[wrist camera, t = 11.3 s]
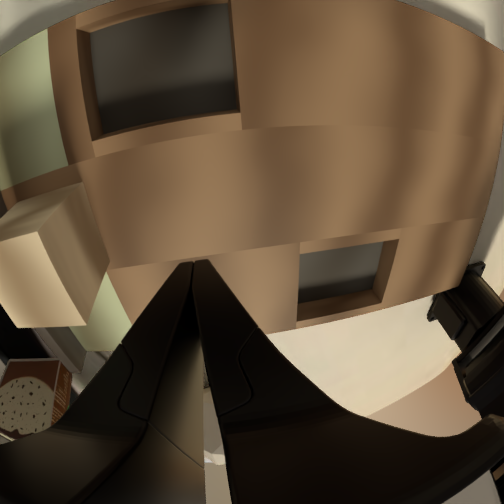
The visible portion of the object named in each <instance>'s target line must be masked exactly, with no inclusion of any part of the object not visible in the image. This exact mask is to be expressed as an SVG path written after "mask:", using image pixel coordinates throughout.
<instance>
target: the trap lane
mask: <svg viewBox="0 0 504 504" xmlns="http://www.w3.org/2000/svg"><path fill="white" fill-rule="evenodd" d="M503 121H504V52H503V51H502V50H500V49H499V48H497V47H495V46H494V45H492V44H491V43H489V42H487V41H486V40H484V39H482V38H481V37H479V36H477V35H475V34H473V33H472V32H470V31H468V30H466V29H464V28H462V27H460V26H458V25H456V24H454V23H452V22H450V21H448V20H445V19H443V18H441V17H439V16H436V15H434V14H432V13H429V12H427V11H424V10H422V9H419V8H416V7H414V6H411V5H408V4H405V3H402V2H399V1H396V0H115V1H112V2H109V3H106V4H103V5H100V6H97V7H95V8H92V9H89V10H87V11H84V12H82V13H79V14H77V15H75V16H72V17H70V18H68V19H65V20H63V21H61V22H59V23H57V24H55V25H53V26H51V27H49V28H47V29H45V30H43V31H41V32H39V33H37V34H36V35H34V36H32V37H30V38H28V39H27V40H25V41H23V42H22V43H20V44H18V45H17V46H15V47H14V48H12V49H10V50H9V51H7V52H6V53H4V54H3V55H1V56H0V219H1V218H2V217H3V216H4V215H5V214H6V213H7V212H8V211H9V210H10V209H11V208H12V207H13V206H14V205H15V204H16V203H17V202H20V201H23V200H26V199H29V198H32V197H34V196H37V195H41V194H44V193H47V192H50V191H53V190H56V189H60V188H63V187H66V186H70V185H73V184H77V183H80V182H83V184H84V188H85V191H86V194H87V198H88V201H89V204H90V207H91V210H92V213H93V216H94V219H95V222H96V225H97V227H98V230H99V233H100V236H101V238H102V241H103V244H104V246H105V249H106V252H107V254H108V257H109V259H110V263H109V265H108V268H107V270H106V273H105V275H104V278H103V280H102V283H101V286H100V288H99V291H98V294H97V297H96V299H95V302H94V305H93V308H92V311H91V314H90V317H89V320H88V323H87V325H83V326H64V327H36V328H34V329H35V330H36V331H37V333H38V334H39V335H40V337H41V338H42V339H43V341H44V342H45V343H46V344H47V346H48V347H49V348H50V349H51V351H52V352H53V353H54V354H55V355H56V357H57V358H58V359H59V360H60V361H61V362H62V364H63V365H64V366H65V367H66V368H67V369H68V370H69V372H70V373H81V371H82V367H83V363H84V359H85V355H86V351H114V350H115V349H116V347H117V346H118V344H119V343H121V340H122V339H123V337H124V336H125V335H126V333H127V332H128V330H129V329H130V328H131V326H132V325H133V324H134V322H135V321H136V319H137V318H138V317H139V315H140V314H141V313H142V311H143V310H144V309H145V307H146V306H147V305H148V303H149V302H150V301H151V299H152V298H153V297H154V295H155V294H156V293H157V291H158V290H159V289H160V287H161V286H162V285H163V283H164V282H165V281H166V280H167V278H168V277H169V276H170V274H171V273H172V272H173V271H174V269H175V268H176V267H177V265H178V264H179V263H181V262H187V261H193V262H195V261H196V260H201V259H209V260H210V262H211V263H212V265H213V266H214V267H215V269H216V270H217V271H218V273H219V274H220V275H221V277H222V278H223V280H224V281H225V282H226V284H227V285H228V286H229V288H230V289H231V290H232V292H233V293H234V294H235V296H236V297H237V298H238V300H239V301H240V302H241V304H242V305H243V306H244V308H245V309H246V310H247V312H248V313H249V314H250V316H251V317H252V318H253V320H254V321H255V322H256V323H257V325H258V326H259V328H261V330H262V331H263V332H264V334H271V333H277V332H282V331H288V330H293V329H298V328H303V327H308V326H313V325H318V324H323V323H328V322H332V321H337V320H341V319H345V318H350V317H354V316H358V315H362V314H366V313H370V312H374V311H378V310H382V309H385V308H389V307H393V306H396V305H400V304H403V303H407V302H410V301H414V300H417V299H420V298H424V297H427V296H430V295H433V294H436V293H439V292H443V291H446V290H449V289H452V288H455V287H457V286H459V284H460V282H461V279H462V277H463V275H464V272H465V270H466V267H467V265H468V263H469V260H470V257H471V255H472V252H473V250H474V247H475V244H476V241H477V238H478V235H479V232H480V229H481V226H482V223H483V220H484V217H485V213H486V210H487V206H488V203H489V199H490V195H491V191H492V187H493V183H494V178H495V173H496V168H497V163H498V158H499V152H500V146H501V139H502V131H503ZM121 344H122V343H121Z"/></svg>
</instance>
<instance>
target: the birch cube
mask: <svg viewBox="0 0 504 504" xmlns="http://www.w3.org/2000/svg"><path fill="white" fill-rule="evenodd" d="M109 263H110V259H109V257H108V254H107V252H106V249H105V246H104V244H103V241H102V238H101V236H100V233H99V230H98V227H97V225H96V222H95V219H94V216H93V213H92V210H91V207H90V204H89V201H88V198H87V194H86V191H85V188H84V184H83V182H80V183H77V184H73V185H70V186H66V187H63V188H60V189H56V190H53V191H50V192H47V193H44V194H41V195H37V196H34V197H32V198H29V199H26V200H23V201H20V202H17V203H16V204H15V205H14V206H13V207H12V208H11V209H10V210H9V211H8V212H7V213H6V214H5V215H4V216H3V217H2V218H1V219H0V303H1V305H2V307H3V308H4V310H5V311H6V312H7V314H8V315H9V317H10V318H11V320H12V321H13V322H14V324H15V325H16V327H17V328H36V327H64V326H83V325H87V323H88V320H89V317H90V314H91V311H92V308H93V305H94V302H95V299H96V297H97V294H98V291H99V288H100V286H101V283H102V280H103V278H104V275H105V273H106V270H107V268H108V265H109Z"/></svg>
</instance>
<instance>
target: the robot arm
mask: <svg viewBox="0 0 504 504" xmlns="http://www.w3.org/2000/svg"><path fill="white" fill-rule="evenodd" d="M485 266H486V264H485V263H484V262H480V263H476V264H473V265H470V266H467V267H466V270H465V272H464V275H463V277H462V279H461V282H460V284H459V286H457V287H455V288H452V289H449V290H446V291H443V292H439V293H438V295H437V297H436V299H435V302H434V304H433V306H432V308H431V310H430V312H429V314H428V317H427V319H428V321H429V322H431V321H434V320H436V319H437V320H438V321H439V323H440V324H441V325H442V327H443V328H444V330H445V331H446V333H447V334H448V336H449V337H450V339H451V340H454V341H455V342H456V344H457V345H458V347H459V348H460V350H461V351H462V353H461V354H460V355H459V356H458V357H457V358H455V359H454V360H453V361H452V364H453V366H454V370H455V373H456V376H457V378H458V381H459V383H460V386H461V389H462V391H463V394H464V397H465V401H466V402H467V403H469V404H470V405H471V406H472V407H473V408H474V409H475V410H477V411H479V413H480V415H481V418H482V420H480V421H479V422H477V423H476V424H475V425H473V426H472V427H470V428H469V429H467V430H466V431H464V432H462V433H461V434H458V435H454V436H450V437H435V436H428V435H424V434H420V433H416V432H412V431H408V430H405V429H401V428H398V427H394V426H391V425H388V424H385V423H381V422H378V421H375V420H372V419H369V418H366V417H363V416H360V415H357V414H355V413H353V412H350V411H348V410H347V409H345V408H343V407H342V406H340V405H339V404H337V403H336V402H335V401H333V400H332V399H331V398H330V397H329V396H327V395H326V394H325V393H324V392H323V391H322V390H321V389H319V388H318V387H317V386H316V385H315V384H314V383H313V382H311V381H310V380H309V379H308V378H307V377H306V376H305V375H304V374H303V373H301V372H300V371H299V370H298V369H297V368H296V367H295V366H294V365H293V364H292V363H291V362H290V361H289V360H288V359H287V358H286V357H285V356H284V355H283V354H282V353H281V352H280V351H279V350H278V349H277V348H276V347H275V346H274V344H273V343H272V342H271V341H270V340H269V339H268V337H267V336H266V335H265V334H264V332H263V331H262V330H261V328H259V326H258V325H257V323H256V322H255V321H254V320H253V318H252V317H251V316H250V314H249V313H248V312H247V310H246V309H245V308H244V306H243V305H242V304H241V302H240V301H239V300H238V298H237V297H236V296H235V294H234V293H233V292H232V290H231V289H230V288H229V286H228V285H227V284H226V282H225V281H224V280H223V278H222V277H221V275H220V274H219V273H218V271H217V270H216V269H215V267H214V266H213V265H212V263H211V262H210V260H209V259H201V260H196V261H195V262H193V261H187V262H181V263H179V264H178V265H177V267H176V268H175V269H174V271H173V272H172V273H171V274H170V276H169V277H168V278H167V280H166V281H165V282H164V283H163V285H162V286H161V287H160V289H159V290H158V291H157V293H156V294H155V295H154V297H153V298H152V299H151V301H150V302H149V303H148V305H147V306H146V307H145V309H144V310H143V311H142V313H141V314H140V315H139V317H138V318H137V319H136V321H135V322H134V324H133V325H132V326H131V328H130V329H129V330H128V332H127V333H126V335H125V336H124V337H123V339H122V340H121V343H122V344H121V343H119V344H118V346H117V347H116V349H115V350H114V351H113V353H112V354H111V356H110V357H109V358H108V360H107V361H106V362H105V364H104V365H103V366H102V368H101V369H100V370H99V371H98V373H97V374H96V375H95V376H94V378H93V379H92V380H91V381H90V383H89V384H88V385H87V386H86V387H85V389H84V390H83V391H82V392H81V393H80V395H79V396H78V397H77V398H76V399H75V401H74V402H73V403H72V404H71V406H70V407H69V408H68V409H67V410H66V412H65V413H64V414H63V415H62V416H61V418H60V419H59V420H58V421H56V422H55V423H54V424H53V425H52V426H50V427H49V428H47V429H45V430H43V431H40V432H38V433H35V434H32V435H29V436H26V437H23V438H20V439H16V440H13V441H10V442H7V443H3V444H0V504H206V494H205V471H204V429H203V380H204V362H205V367H206V372H207V377H208V381H209V386H210V390H211V395H212V399H213V404H214V408H215V412H216V416H217V418H218V424H219V429H220V433H221V438H222V443H223V449H224V456H225V463H226V470H227V476H228V483H229V489H230V496H231V501H232V504H504V302H503V301H502V300H501V299H500V297H499V296H498V295H497V294H496V293H495V292H494V290H493V289H492V288H491V287H490V286H489V285H488V284H487V282H486V281H485V280H484V279H483V278H482V277H481V275H482V273H483V271H484V269H485Z"/></svg>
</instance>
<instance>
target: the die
mask: <svg viewBox="0 0 504 504" xmlns="http://www.w3.org/2000/svg"><path fill="white" fill-rule="evenodd" d="M203 429H204V456H206V457H207V458H208V459H210V460H211V461H212V462H214V463H215V464H217V465H221V464H226V463H225V456H224V449H223V443H222V438H221V433H220V429H219V424H218V418H217V416H216V412H215V408H214V404H213V399H212V395H211V390H210V387H208V388H205V389H203Z"/></svg>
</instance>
